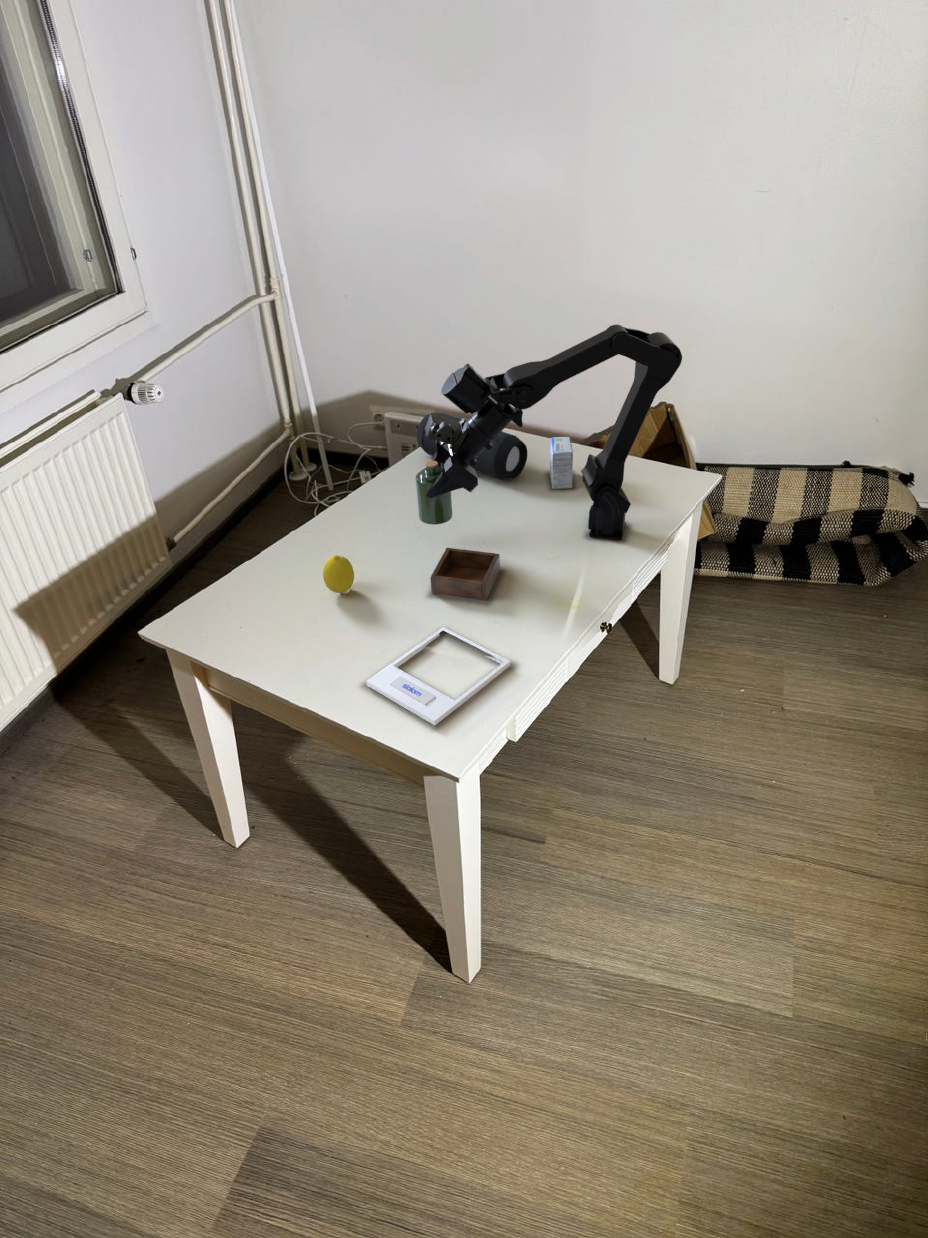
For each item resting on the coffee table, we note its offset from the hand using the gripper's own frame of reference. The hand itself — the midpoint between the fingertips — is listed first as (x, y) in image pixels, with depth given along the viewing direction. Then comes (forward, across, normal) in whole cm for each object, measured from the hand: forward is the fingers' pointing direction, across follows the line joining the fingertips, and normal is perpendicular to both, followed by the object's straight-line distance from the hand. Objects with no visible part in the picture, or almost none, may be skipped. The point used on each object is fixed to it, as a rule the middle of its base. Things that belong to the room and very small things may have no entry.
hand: (426, 488), depth 163 cm
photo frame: (+11, +39, +8) cm, 41 cm away
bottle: (+3, 0, +5) cm, 6 cm away
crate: (+6, +13, +13) cm, 19 cm away
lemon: (+22, +12, -3) cm, 25 cm away
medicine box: (-12, -23, +31) cm, 40 cm away
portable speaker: (+1, -33, +18) cm, 38 cm away
